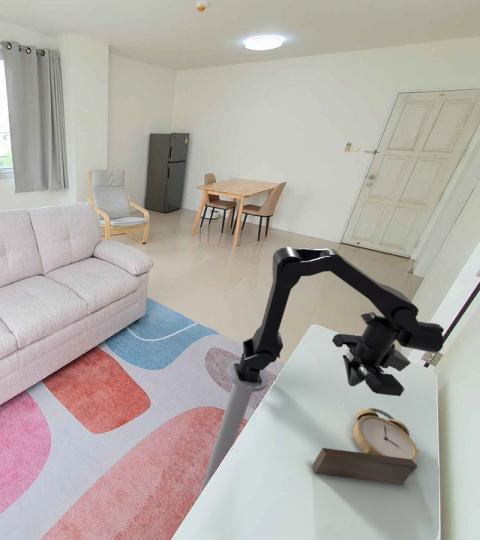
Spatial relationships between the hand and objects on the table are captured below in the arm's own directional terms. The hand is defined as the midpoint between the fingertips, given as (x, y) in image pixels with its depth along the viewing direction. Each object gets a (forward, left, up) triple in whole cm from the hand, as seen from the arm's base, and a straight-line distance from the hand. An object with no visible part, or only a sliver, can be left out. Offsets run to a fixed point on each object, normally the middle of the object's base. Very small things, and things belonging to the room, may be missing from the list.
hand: (351, 385), depth 79 cm
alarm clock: (+11, +3, -7) cm, 13 cm away
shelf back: (+20, -8, -7) cm, 22 cm away
